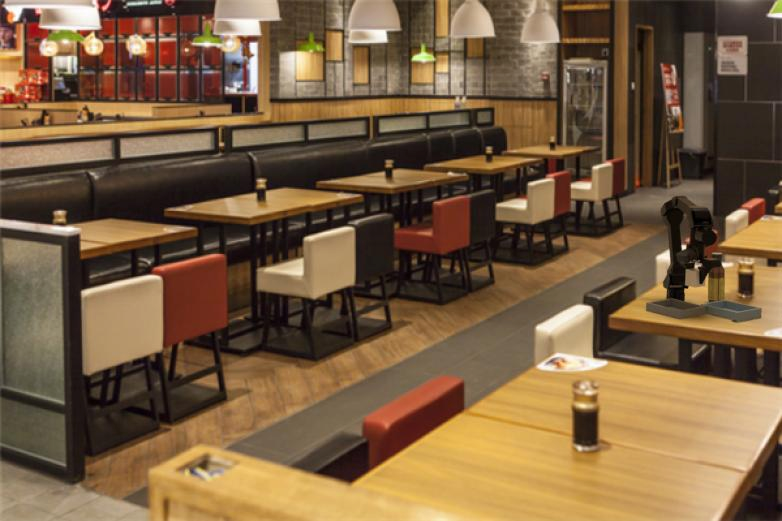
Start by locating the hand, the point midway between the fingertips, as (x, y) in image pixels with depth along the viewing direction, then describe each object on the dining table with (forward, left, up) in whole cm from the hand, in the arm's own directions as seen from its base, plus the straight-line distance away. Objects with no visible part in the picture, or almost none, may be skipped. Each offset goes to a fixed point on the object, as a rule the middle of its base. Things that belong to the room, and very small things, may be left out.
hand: (695, 282), depth 374 cm
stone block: (0, 0, -1) cm, 1 cm away
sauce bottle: (-9, +22, -12) cm, 27 cm away
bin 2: (+8, +10, -12) cm, 18 cm away
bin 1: (-5, -5, -12) cm, 14 cm away
